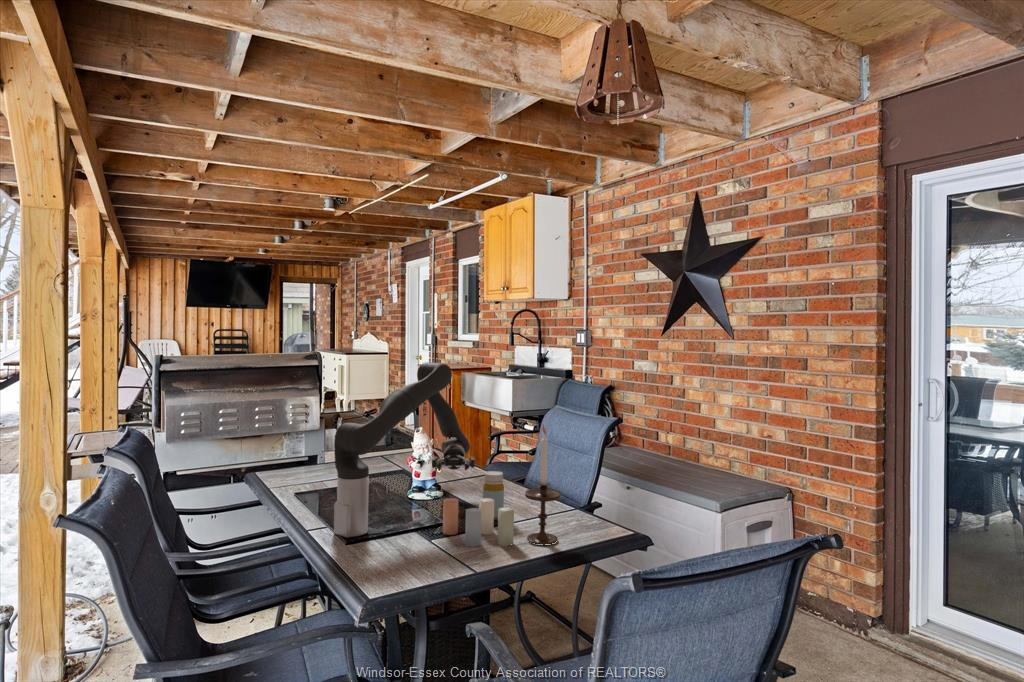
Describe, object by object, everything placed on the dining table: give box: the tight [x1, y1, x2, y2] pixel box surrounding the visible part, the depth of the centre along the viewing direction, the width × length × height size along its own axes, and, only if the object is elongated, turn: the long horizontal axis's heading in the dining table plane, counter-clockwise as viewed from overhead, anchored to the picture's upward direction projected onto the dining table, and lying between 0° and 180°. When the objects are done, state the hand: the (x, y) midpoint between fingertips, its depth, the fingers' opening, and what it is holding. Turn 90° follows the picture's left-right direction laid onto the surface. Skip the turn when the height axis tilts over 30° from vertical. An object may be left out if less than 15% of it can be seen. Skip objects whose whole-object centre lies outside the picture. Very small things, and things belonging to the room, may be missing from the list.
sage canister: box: [497, 507, 515, 547], centre depth 181 cm, size 5×5×10 cm
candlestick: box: [524, 424, 563, 545], centre depth 184 cm, size 11×11×35 cm
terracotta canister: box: [442, 497, 459, 536], centre depth 190 cm, size 5×5×10 cm
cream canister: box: [478, 497, 495, 536], centre depth 190 cm, size 5×5×10 cm
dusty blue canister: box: [464, 507, 482, 548], centre depth 180 cm, size 5×5×10 cm
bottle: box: [482, 470, 505, 521], centre depth 205 cm, size 7×7×15 cm
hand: (452, 467), depth 201 cm, fingers open, 8 cm apart
